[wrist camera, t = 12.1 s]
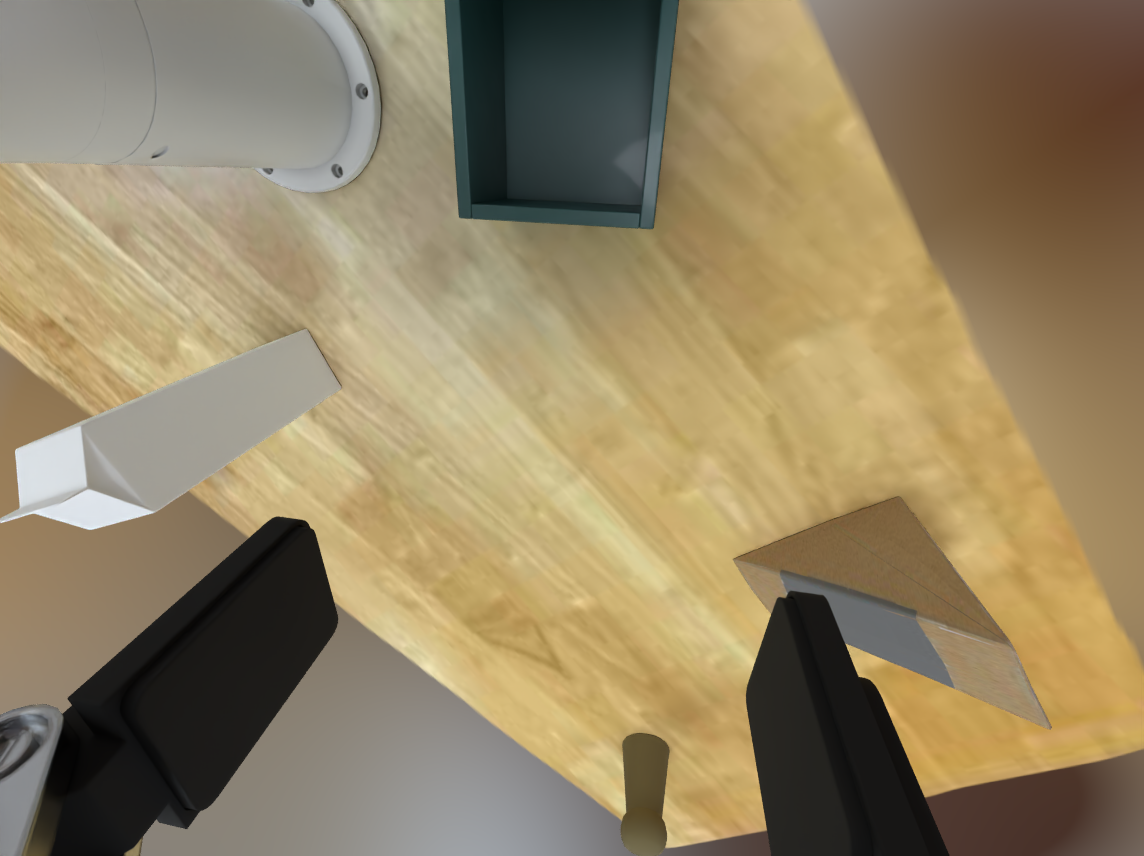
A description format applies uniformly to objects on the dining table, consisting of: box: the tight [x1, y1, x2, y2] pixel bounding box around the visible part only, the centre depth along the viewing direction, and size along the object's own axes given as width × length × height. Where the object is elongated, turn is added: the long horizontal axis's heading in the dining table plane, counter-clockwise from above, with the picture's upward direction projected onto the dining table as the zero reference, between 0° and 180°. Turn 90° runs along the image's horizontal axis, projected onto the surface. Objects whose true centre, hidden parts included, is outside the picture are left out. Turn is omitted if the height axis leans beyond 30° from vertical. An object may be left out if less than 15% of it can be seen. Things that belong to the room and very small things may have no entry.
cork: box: [621, 734, 669, 856], centre depth 58 cm, size 6×6×11 cm
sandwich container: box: [733, 497, 1052, 730], centre depth 38 cm, size 9×15×15 cm, turn 126°
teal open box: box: [445, 0, 679, 229], centre depth 27 cm, size 14×11×8 cm
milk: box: [0, 329, 341, 530], centre depth 34 cm, size 6×6×22 cm
